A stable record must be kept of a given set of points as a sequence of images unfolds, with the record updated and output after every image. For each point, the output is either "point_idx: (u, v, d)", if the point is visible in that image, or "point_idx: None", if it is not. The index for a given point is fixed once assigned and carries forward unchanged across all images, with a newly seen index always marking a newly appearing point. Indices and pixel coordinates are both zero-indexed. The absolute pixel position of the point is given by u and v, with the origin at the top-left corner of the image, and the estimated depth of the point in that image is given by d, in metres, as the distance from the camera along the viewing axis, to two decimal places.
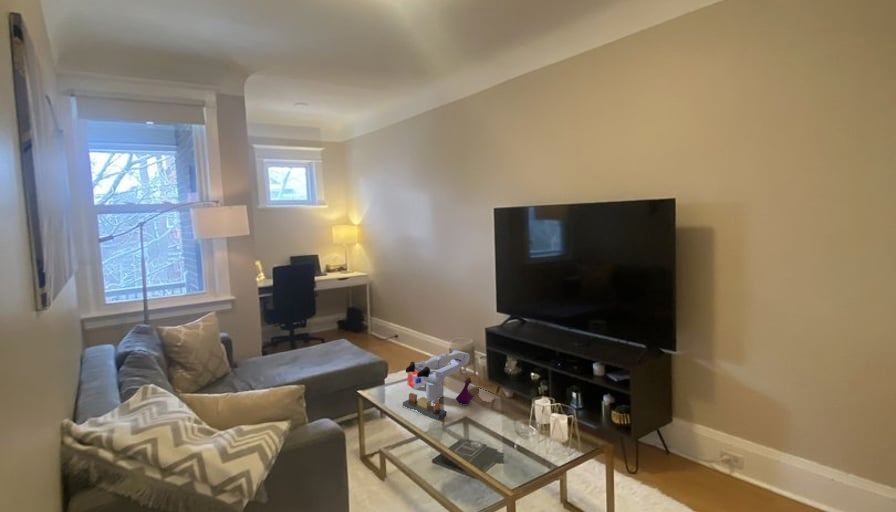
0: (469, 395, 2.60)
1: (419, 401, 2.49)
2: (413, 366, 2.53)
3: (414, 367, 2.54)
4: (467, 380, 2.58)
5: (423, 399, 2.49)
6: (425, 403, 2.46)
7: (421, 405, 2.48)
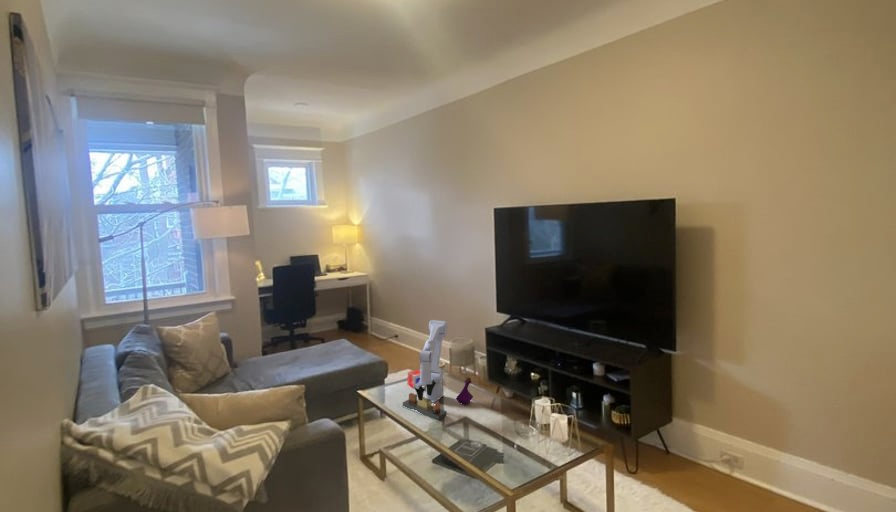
0: (469, 395, 2.60)
1: (419, 401, 2.49)
2: None
3: None
4: (467, 380, 2.58)
5: (423, 399, 2.49)
6: (425, 403, 2.46)
7: (421, 405, 2.48)
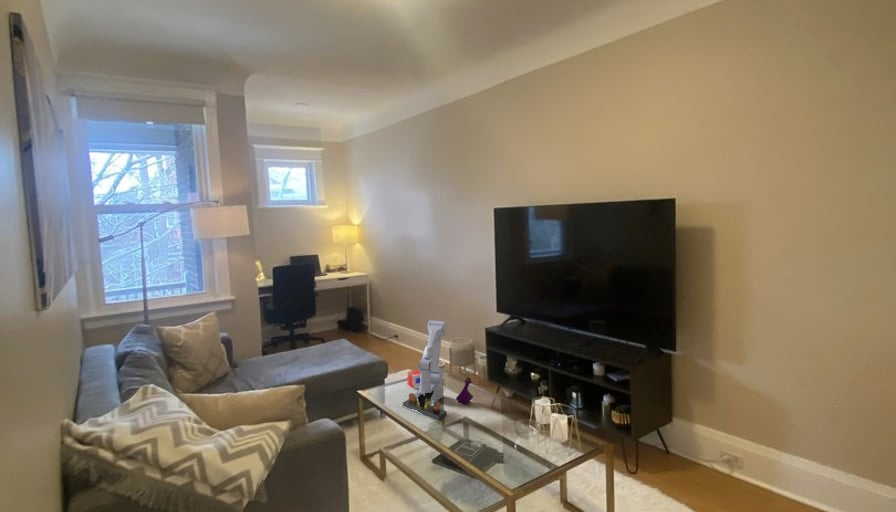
0: (469, 395, 2.60)
1: None
2: None
3: None
4: (467, 380, 2.58)
5: None
6: (425, 403, 2.46)
7: None
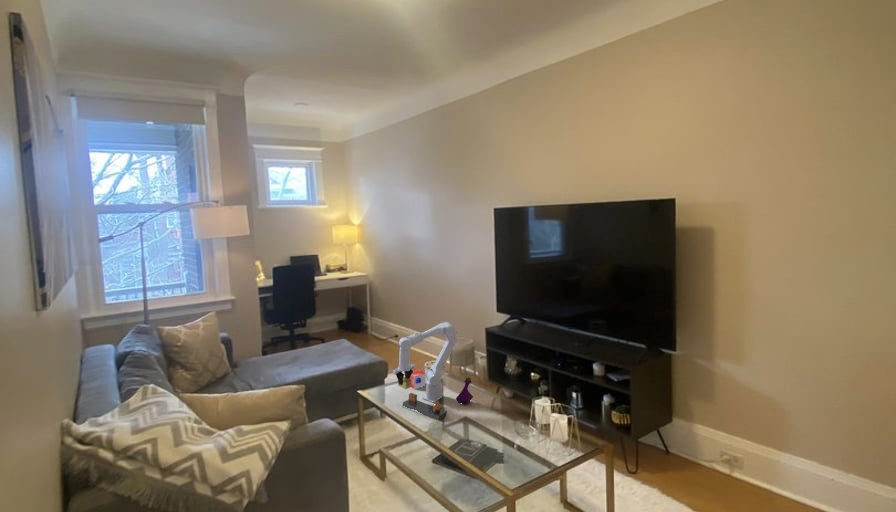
0: (469, 395, 2.60)
1: None
2: None
3: None
4: (467, 380, 2.58)
5: (403, 379, 2.58)
6: (404, 383, 2.55)
7: None
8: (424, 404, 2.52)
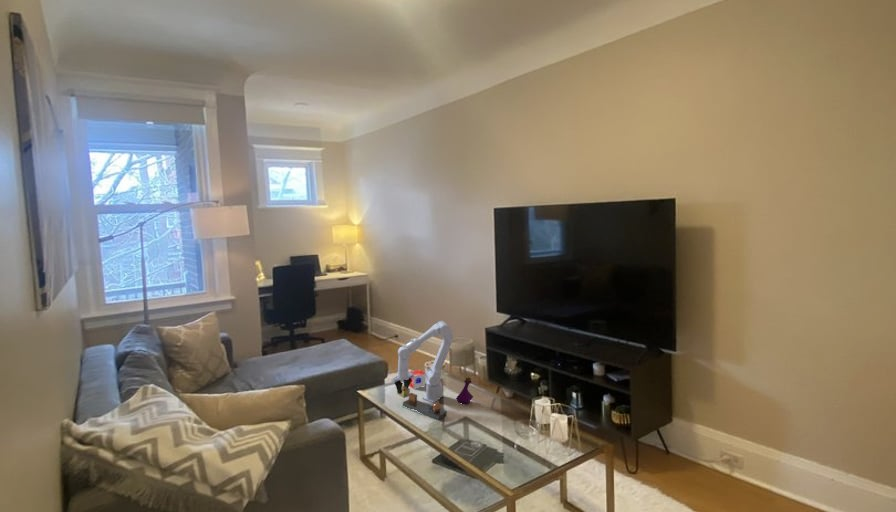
0: (469, 395, 2.60)
1: None
2: None
3: None
4: (467, 380, 2.58)
5: (402, 388, 2.60)
6: (403, 391, 2.57)
7: None
8: (424, 404, 2.52)
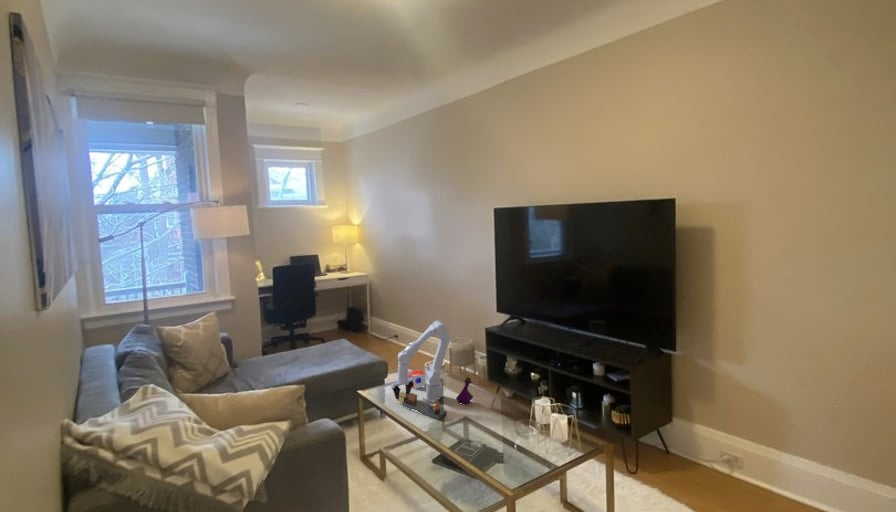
0: (469, 395, 2.60)
1: None
2: None
3: (397, 386, 2.57)
4: (467, 380, 2.58)
5: (402, 394, 2.60)
6: (402, 398, 2.57)
7: (399, 399, 2.59)
8: (424, 404, 2.52)
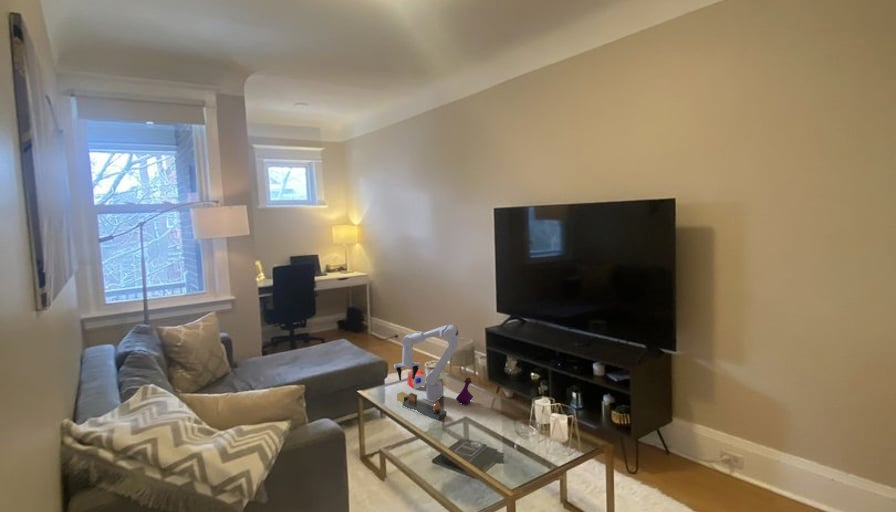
0: (469, 395, 2.60)
1: (398, 395, 2.60)
2: None
3: (400, 368, 2.65)
4: (467, 380, 2.58)
5: (402, 394, 2.60)
6: (402, 398, 2.57)
7: (399, 399, 2.59)
8: (424, 404, 2.52)
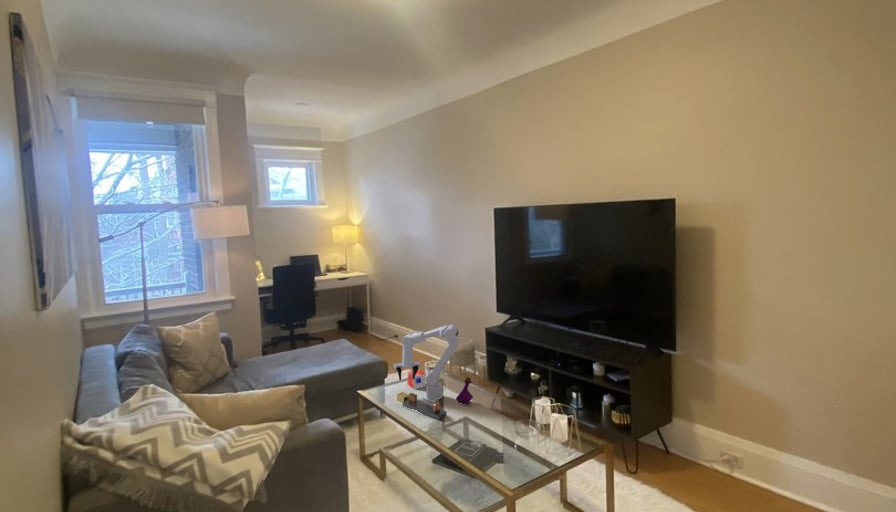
0: (469, 395, 2.60)
1: (398, 395, 2.60)
2: None
3: (400, 368, 2.65)
4: (467, 380, 2.58)
5: (402, 394, 2.60)
6: (402, 398, 2.57)
7: (399, 399, 2.59)
8: (424, 404, 2.52)
